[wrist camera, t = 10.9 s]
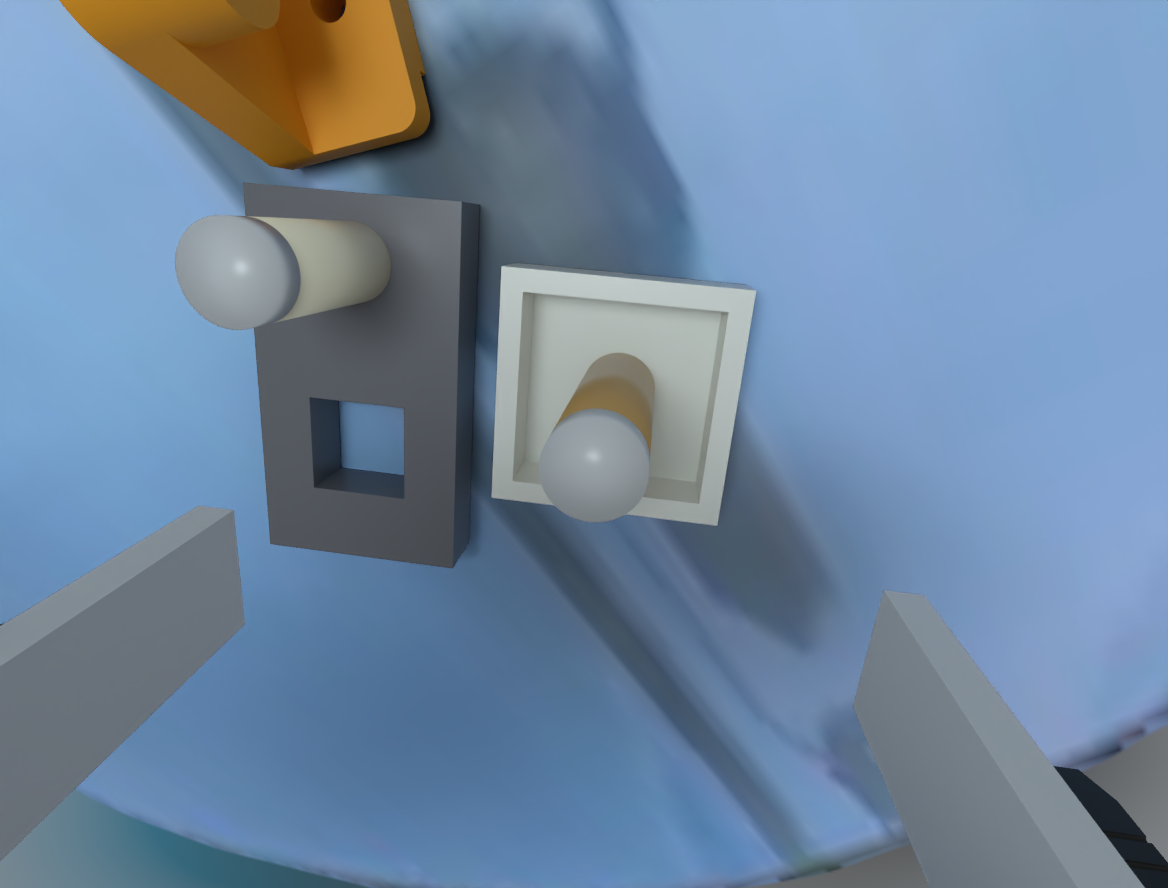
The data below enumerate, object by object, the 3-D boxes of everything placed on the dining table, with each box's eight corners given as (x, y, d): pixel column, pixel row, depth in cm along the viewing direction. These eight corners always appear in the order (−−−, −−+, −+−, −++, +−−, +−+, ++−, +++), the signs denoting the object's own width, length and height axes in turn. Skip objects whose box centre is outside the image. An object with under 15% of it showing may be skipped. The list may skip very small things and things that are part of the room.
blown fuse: (579, 418, 33) (535, 514, 22) (586, 348, 32) (542, 411, 21) (650, 427, 33) (642, 529, 21) (658, 356, 32) (655, 425, 20)
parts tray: (507, 472, 35) (491, 497, 32) (518, 262, 32) (501, 266, 28) (711, 497, 34) (717, 525, 31) (745, 284, 31) (756, 290, 27)
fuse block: (468, 542, 37) (383, 681, 25) (300, 520, 37) (143, 645, 26) (479, 204, 31) (375, 187, 20) (280, 187, 32) (68, 161, 20)
